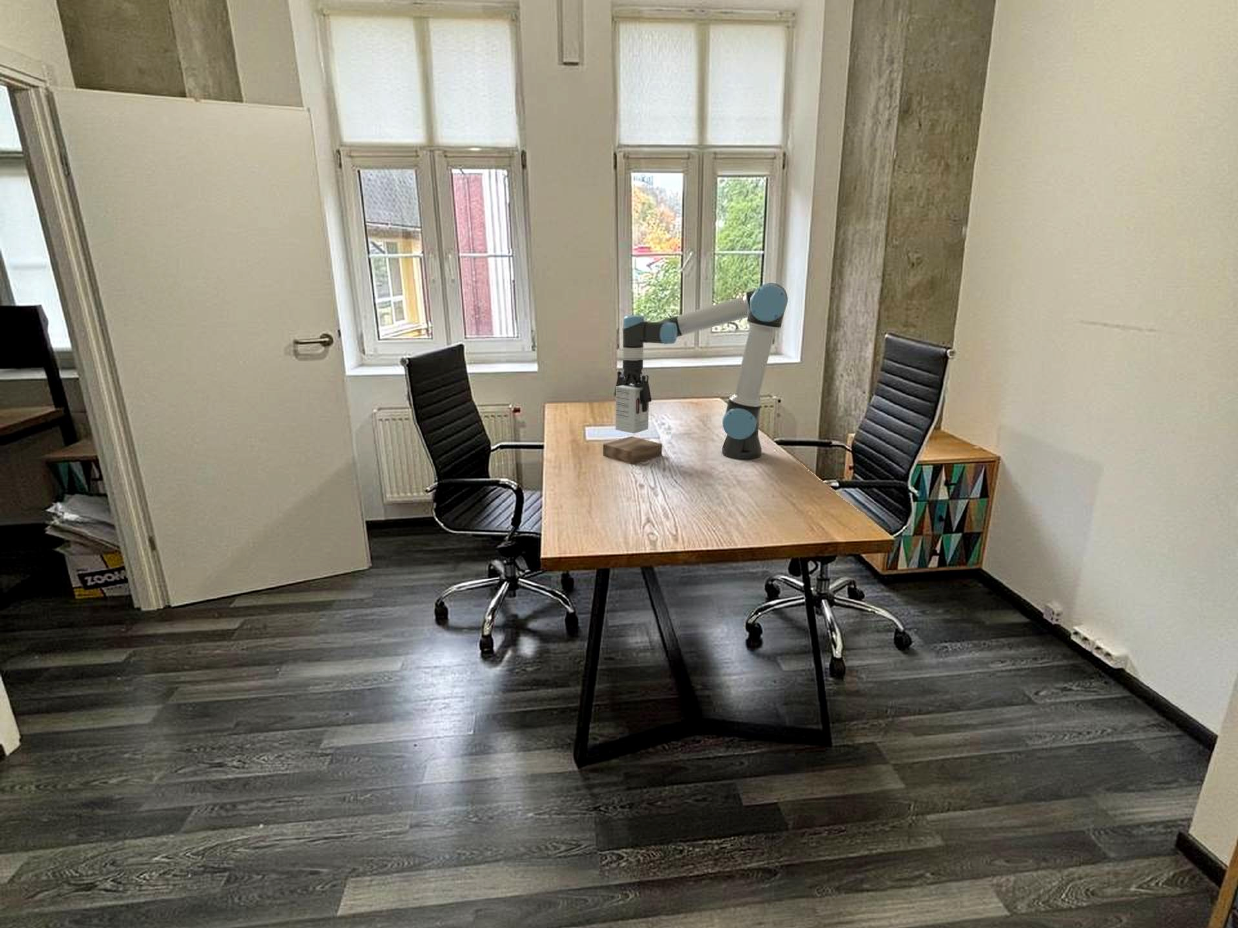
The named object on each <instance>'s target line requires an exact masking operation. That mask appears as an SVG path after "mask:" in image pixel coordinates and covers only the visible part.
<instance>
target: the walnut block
mask: <svg viewBox="0 0 1238 928" xmlns="http://www.w3.org/2000/svg"><path fill="white" fill-rule="evenodd" d="M602 456H603V457H606V458H610V459H614V460H617V461H621V462H624V463H628V464H630V465H635V464H639V463H642V462H645V461H648V460H651V459H654V458H658V457H662V456H663V444H662V443H660V442H656V441H651V440H648V439H645V438H640V437H636V436H633V435H632V436H627V437H624V438H620V439H617V440H614V441H610V442H607V443H603V444H602Z"/></svg>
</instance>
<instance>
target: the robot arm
mask: <svg viewBox="0 0 1238 928" xmlns="http://www.w3.org/2000/svg"><path fill="white" fill-rule="evenodd" d="M743 295H744V296H740V297H737V298H733V299H730V300H727V301H723V302H719V303H716V304H713V305H710V306H705V307H702V308H700V309H695V310H693V311H688V312H686V313H683V314H679V315H676V316H671V317H668V318H664V319H662V320H661V321H645V318H644V316H643V315H637V314H636V315H635V314H634V315H633V314H630V315H625V316H624V317H623V325H622V358H623V359H622V369H623V370H620V371H617V373H616V374H617V380H616V384H615V388H614V393H613V395H614V397H616V386H621V385H630V384H634V386H635V387H636V388H643V389H642V390H641V391H640V401H641V403H639V421H642V420H645V418H646V411H647V403H648V402H649V403H650V402H652V395H651V390H650V389H651V388H650V384H649V380H650V379H649V378H650V377H649V375H648V374H646V375H645V374H643V372H642V371H643V369H644V359H643V358H644V343H645V344H661V345H662V344H663V345H668V344H669V345H671V344H675V343H676V342H677V338H679V337H682V336H685V335H688V334H692V333H695V332H699V331H704V330H707V329H710V328H714V327H718V326H721V325H725V324H728V323H732V322H735V321H739V320H743V319H746V322H747V324H748V325H749V326H748V327H749V330H748V334H747V339H746V343H745V347H744V352H743V355H742V361H741V364H740V368H739V373H738V377H737V382H736V385H735V390H734V393H733V394H732V395H730V396H729V397H728V401H727V406H726V409H725V414H724V415H723V418H722V428H723V431H724V432H725V434H726V437H725V439H724V442H723V445H722V448H721V454H722V455H723V456H725V457H727V458H729V459H730V458H731V459H736V460H752V459H753V460H754V459H757V458H760V457H761V456H762V452H763V450H762V445H761V441H760V437H759V426H760V415H761V407H762V403H761V398H760V395H761V394H760V393H761V390H762V385H763V382H764V378H765V373H766V369H767V365H768V361H769V357H770V353H771V349H772V345H773V341H774V336H775V333H776V331H778V330H780V329H781V327H782V323H783V319H784V315H785V312H786V308H787V305H788V302H789V301H788V299H789V297H788V293H787V291H786V289H785V288H784V287H783V286H782V285H780V284H779V283H774V282H770V283H765V284H762V285H760V286H758V287H757V288H756V289H754V290H751V291H747V292H745V294H743Z"/></svg>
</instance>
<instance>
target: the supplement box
mask: <svg viewBox="0 0 1238 928" xmlns="http://www.w3.org/2000/svg"><path fill="white" fill-rule="evenodd" d="M615 388H616V396H615V430H616V431H619V432H624V433H625V432H626V433H629V434H637V433H640V432H644V431H646V430H649V414H650V413H649V411H650V410H649V409H650V402H648V403H647V411H646V418H645V420H642V421H639V403H641V401H640V391H641V390H642V389H643V388H636V387H635V386H634V384H630V385H621V386H616V385H615Z"/></svg>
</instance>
